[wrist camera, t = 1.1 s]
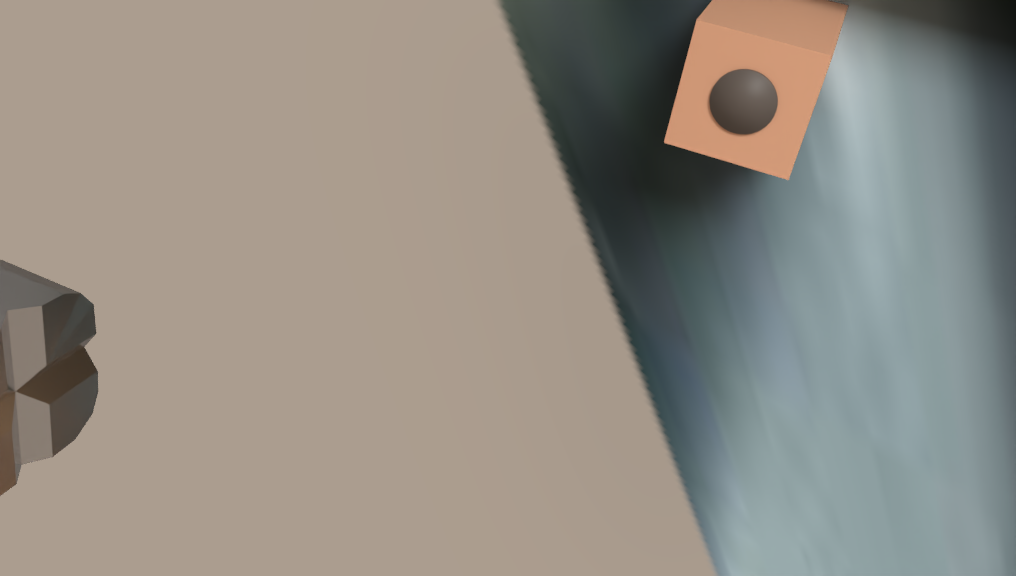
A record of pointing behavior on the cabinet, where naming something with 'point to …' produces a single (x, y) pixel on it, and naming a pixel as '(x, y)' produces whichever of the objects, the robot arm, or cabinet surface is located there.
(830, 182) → the cabinet surface
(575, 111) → the cabinet surface
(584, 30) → the cabinet surface
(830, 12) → the terracotta block
